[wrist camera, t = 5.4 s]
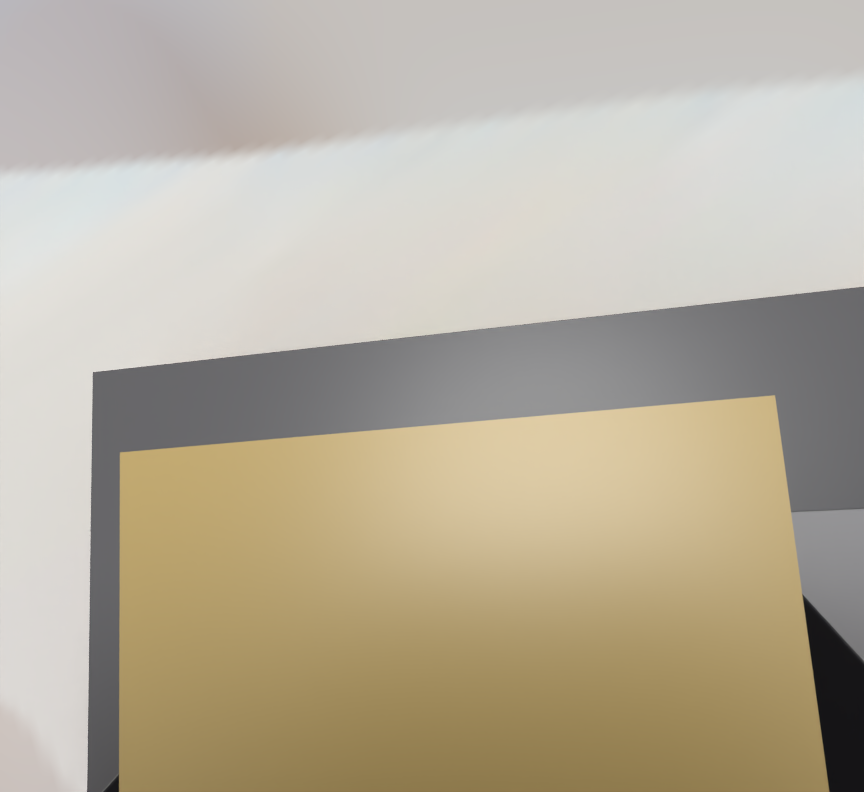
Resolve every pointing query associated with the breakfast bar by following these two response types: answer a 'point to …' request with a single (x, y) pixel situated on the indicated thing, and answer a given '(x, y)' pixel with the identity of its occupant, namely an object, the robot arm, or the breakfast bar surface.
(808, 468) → the panel
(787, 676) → the plug
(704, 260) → the breakfast bar surface
